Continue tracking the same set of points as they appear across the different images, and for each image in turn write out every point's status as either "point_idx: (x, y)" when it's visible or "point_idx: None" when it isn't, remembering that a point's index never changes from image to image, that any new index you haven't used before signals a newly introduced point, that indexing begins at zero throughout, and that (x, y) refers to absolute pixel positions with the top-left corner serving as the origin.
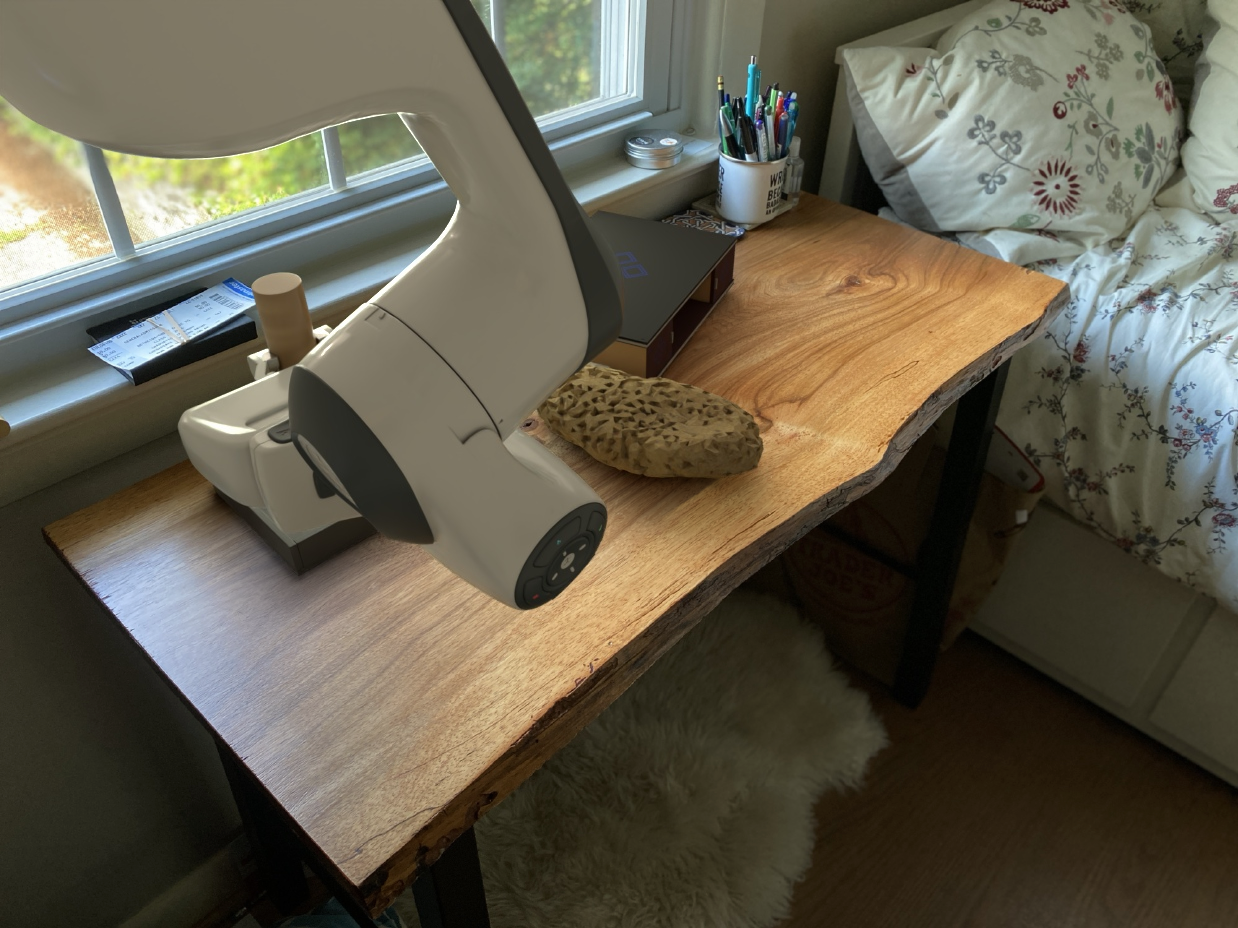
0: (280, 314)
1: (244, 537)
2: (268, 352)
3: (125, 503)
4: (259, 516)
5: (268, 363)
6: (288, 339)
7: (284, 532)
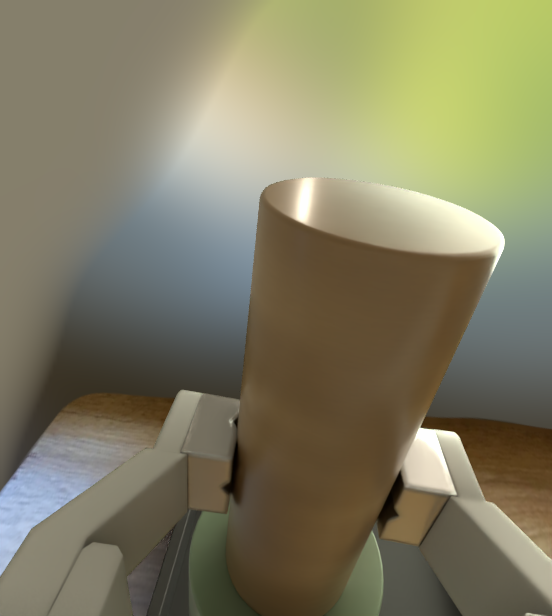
0: (297, 344)
1: (158, 557)
2: (231, 419)
3: (143, 402)
4: (159, 578)
5: (190, 462)
6: (284, 447)
7: (187, 610)
